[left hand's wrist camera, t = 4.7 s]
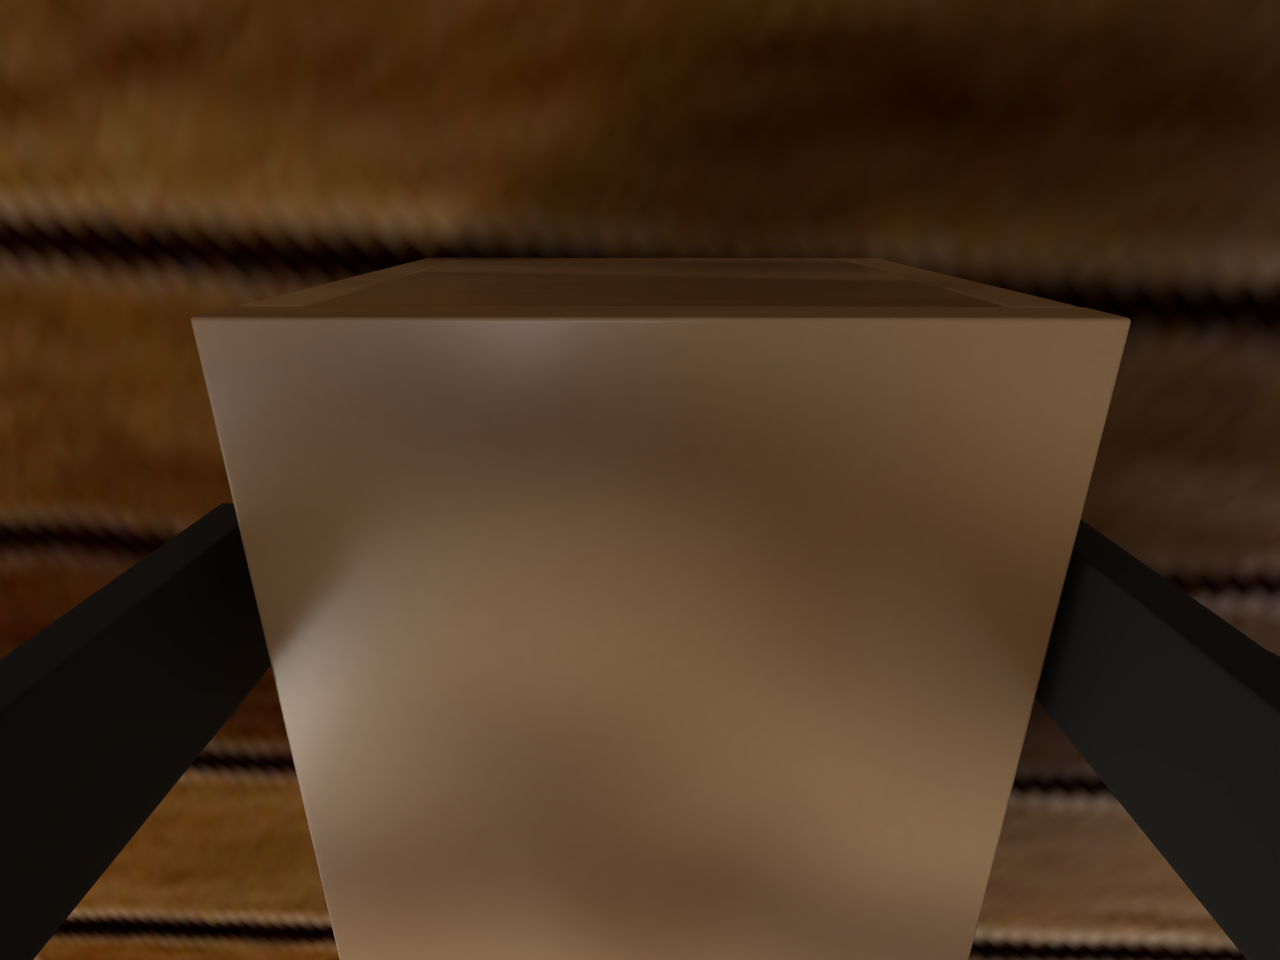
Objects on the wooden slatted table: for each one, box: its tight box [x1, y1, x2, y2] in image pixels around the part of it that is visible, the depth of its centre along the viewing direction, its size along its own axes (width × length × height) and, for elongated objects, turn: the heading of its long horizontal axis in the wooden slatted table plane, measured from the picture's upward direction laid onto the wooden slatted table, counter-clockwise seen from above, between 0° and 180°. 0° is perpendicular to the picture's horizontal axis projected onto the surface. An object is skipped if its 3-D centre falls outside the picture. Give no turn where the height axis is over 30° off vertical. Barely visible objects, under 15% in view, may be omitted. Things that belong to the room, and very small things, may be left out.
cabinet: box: [191, 258, 1131, 960], centre depth 17 cm, size 21×12×10 cm, turn 0°
